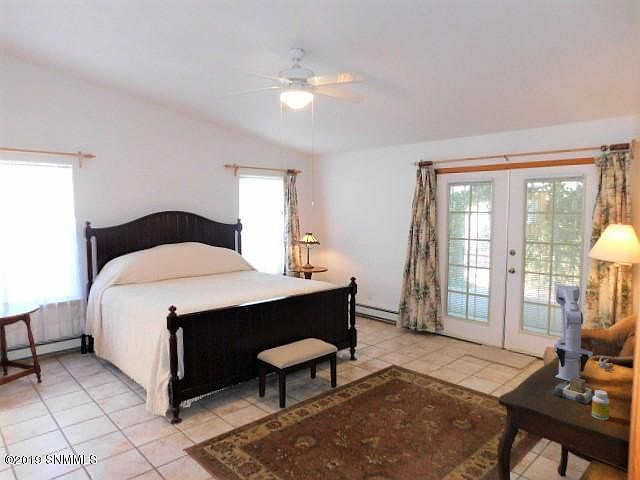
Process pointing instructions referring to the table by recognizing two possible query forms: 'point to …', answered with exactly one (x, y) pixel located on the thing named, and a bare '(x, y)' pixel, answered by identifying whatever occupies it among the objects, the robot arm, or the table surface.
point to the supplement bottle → (600, 405)
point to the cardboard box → (577, 385)
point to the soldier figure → (604, 364)
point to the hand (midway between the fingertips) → (572, 368)
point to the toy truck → (573, 393)
